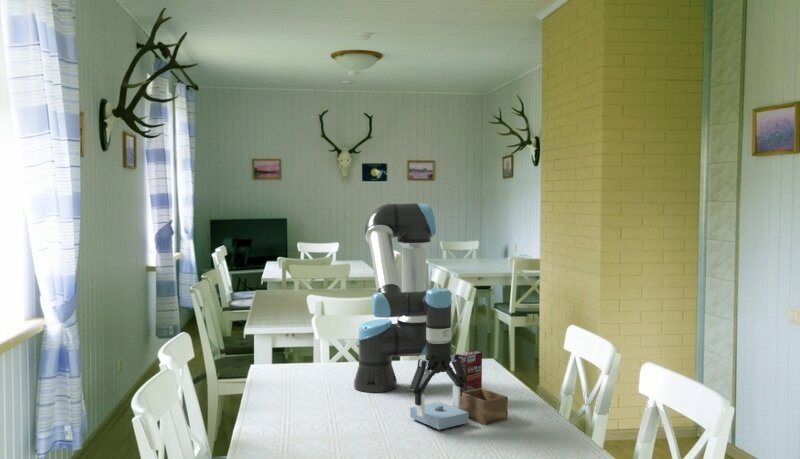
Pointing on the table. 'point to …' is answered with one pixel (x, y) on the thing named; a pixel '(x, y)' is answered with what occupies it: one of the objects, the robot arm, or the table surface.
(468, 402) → the box
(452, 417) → the lid
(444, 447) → the table surface
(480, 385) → the supplement box
